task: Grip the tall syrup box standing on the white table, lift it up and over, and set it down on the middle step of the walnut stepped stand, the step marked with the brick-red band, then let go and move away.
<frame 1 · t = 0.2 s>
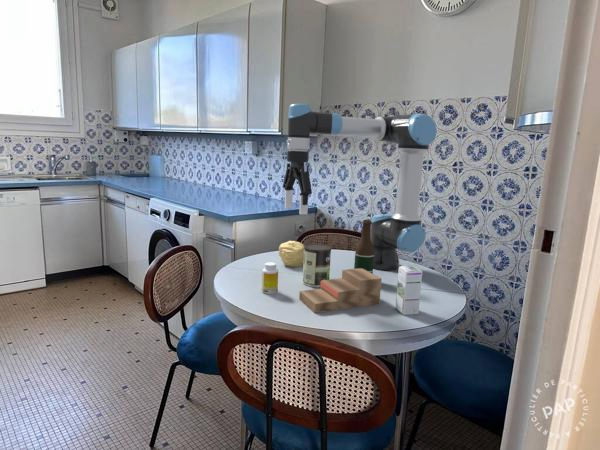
hand: (295, 211, 148), 28 cm above the table, tool pointing down, fingers open, 13 cm apart
sculpture: (293, 265, 180), on the table
syrup box: (406, 312, 134), on the table
beer bottle: (362, 281, 163), on the table
stepped stand: (339, 301, 139), on the table
coffee can: (315, 283, 158), on the table
supplement bottle: (269, 292, 146), on the table
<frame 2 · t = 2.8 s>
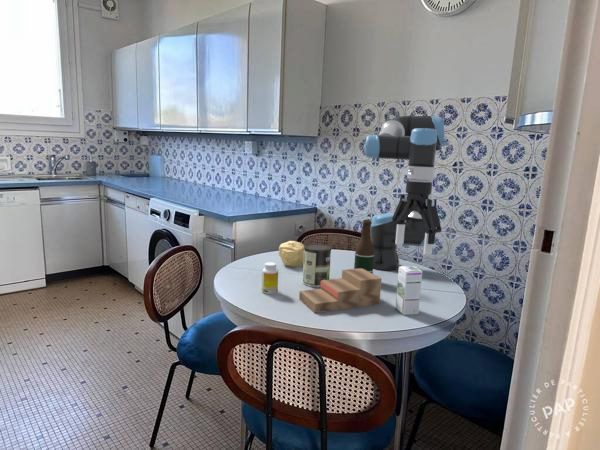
hand: (412, 249, 130), 21 cm above the table, tool pointing down, fingers open, 13 cm apart
nothing on the table moved.
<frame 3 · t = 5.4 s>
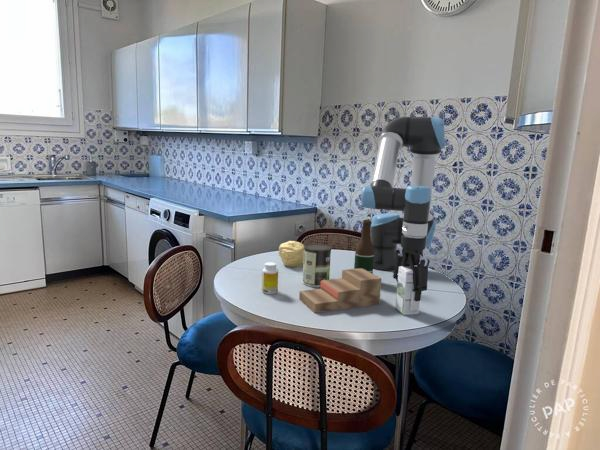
hand: (407, 305, 133), 2 cm above the table, tool pointing down, fingers closed on syrup box, 6 cm apart
syrup box: (406, 311, 134), on the table, touching gripper
everything else where it was.
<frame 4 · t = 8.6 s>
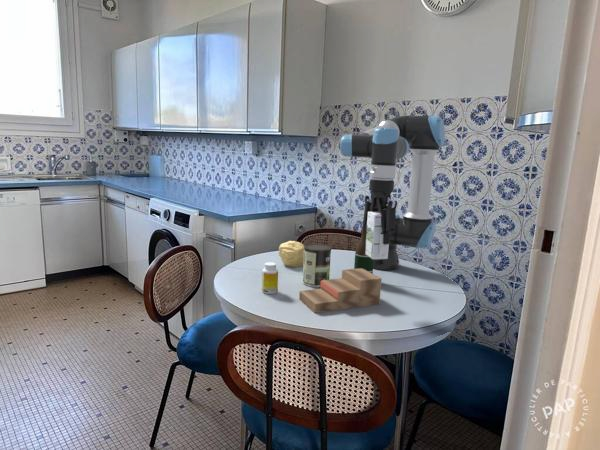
hand: (376, 251, 133), 19 cm above the table, tool pointing down, fingers closed on syrup box, 6 cm apart
syrup box: (375, 257, 134), point 17 cm above the table, touching gripper
everything else where it was.
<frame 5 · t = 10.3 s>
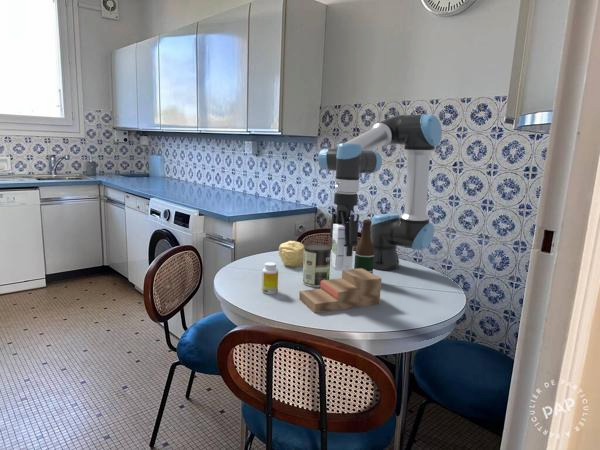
hand: (341, 262, 137), 14 cm above the table, tool pointing down, fingers closed on syrup box, 6 cm apart
syrup box: (341, 268, 137), point 12 cm above the table, touching gripper
everything else where it was.
when the fingers open (9 cm above the table, at t = 11.8 s): syrup box drops 1 cm, resting on stepped stand.
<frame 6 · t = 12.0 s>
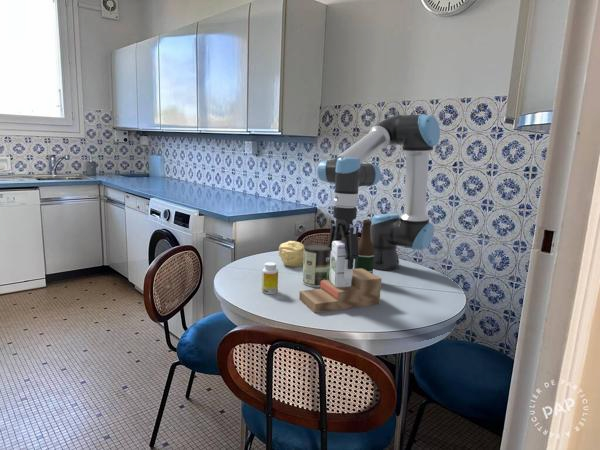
hand: (341, 273, 138), 10 cm above the table, tool pointing down, fingers open, 8 cm apart
syrup box: (340, 285, 138), point 6 cm above the table, touching stepped stand
everything else where it was.
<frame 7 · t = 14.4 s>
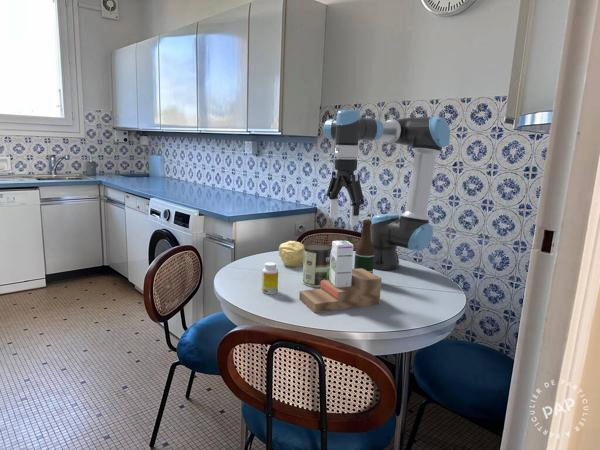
hand: (343, 221, 142), 26 cm above the table, tool pointing down, fingers open, 13 cm apart
nothing on the table moved.
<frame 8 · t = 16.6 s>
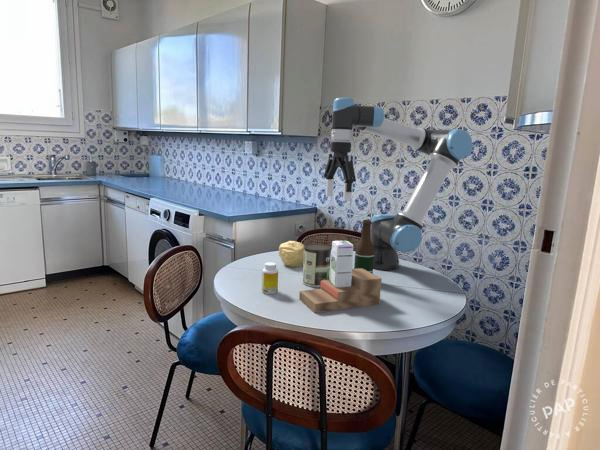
hand: (337, 198, 158), 32 cm above the table, tool pointing down, fingers open, 13 cm apart
nothing on the table moved.
at the end: syrup box inside the target area (0.1 cm from its centre), point 5.8 cm above the table; syrup box tilted 0°; the gripper is holding nothing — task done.
